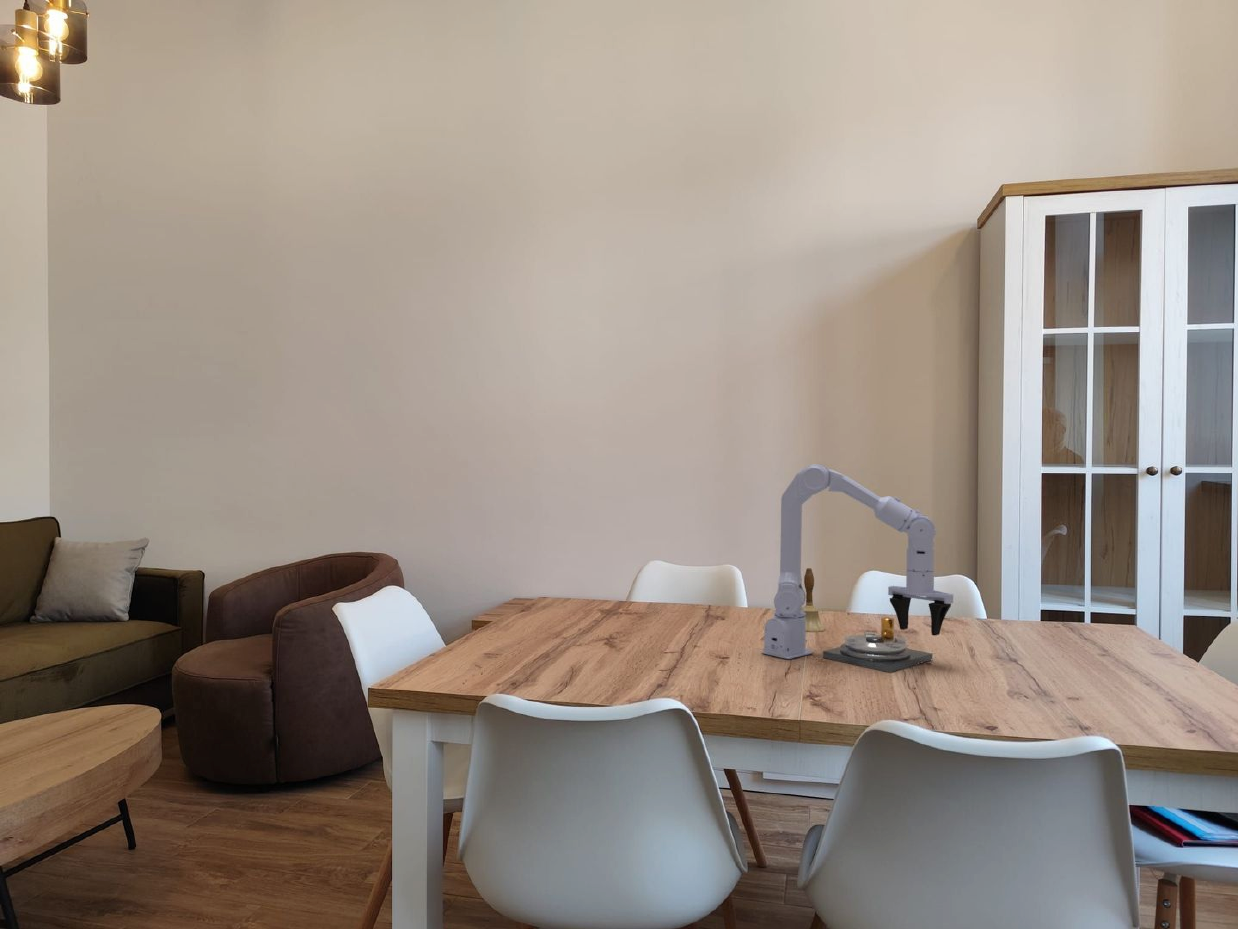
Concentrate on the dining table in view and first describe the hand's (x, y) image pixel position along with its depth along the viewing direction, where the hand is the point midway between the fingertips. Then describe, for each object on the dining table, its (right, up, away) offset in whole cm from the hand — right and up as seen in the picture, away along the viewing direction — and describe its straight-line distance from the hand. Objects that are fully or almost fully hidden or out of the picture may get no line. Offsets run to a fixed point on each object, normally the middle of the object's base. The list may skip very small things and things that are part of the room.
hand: (919, 632), depth 187 cm
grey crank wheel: (-9, -4, +3) cm, 10 cm away
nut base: (-9, -7, +3) cm, 12 cm away
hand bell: (-16, -7, +36) cm, 40 cm away
